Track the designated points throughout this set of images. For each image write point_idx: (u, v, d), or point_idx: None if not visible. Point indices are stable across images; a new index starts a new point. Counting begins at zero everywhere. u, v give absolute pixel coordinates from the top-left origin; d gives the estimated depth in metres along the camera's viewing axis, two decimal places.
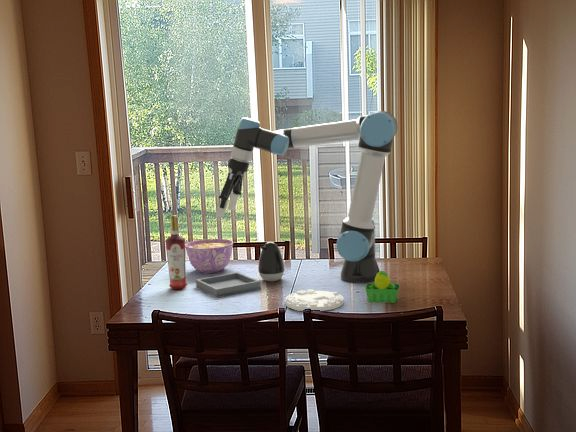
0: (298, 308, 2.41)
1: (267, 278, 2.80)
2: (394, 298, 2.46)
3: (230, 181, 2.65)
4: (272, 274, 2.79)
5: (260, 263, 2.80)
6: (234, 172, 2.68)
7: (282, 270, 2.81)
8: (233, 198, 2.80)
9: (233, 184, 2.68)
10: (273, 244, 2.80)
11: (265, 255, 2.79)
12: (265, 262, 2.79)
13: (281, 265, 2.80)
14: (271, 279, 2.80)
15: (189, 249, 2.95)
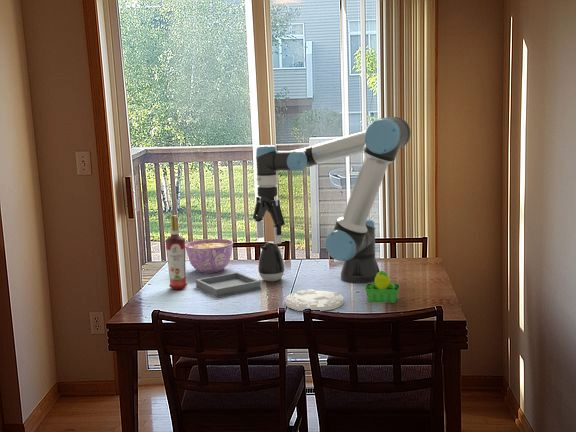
0: (298, 308, 2.41)
1: (267, 278, 2.80)
2: (394, 298, 2.46)
3: (278, 207, 2.73)
4: (272, 274, 2.79)
5: (260, 263, 2.80)
6: (272, 198, 2.76)
7: (282, 270, 2.81)
8: (260, 225, 2.86)
9: None
10: (273, 244, 2.80)
11: (265, 255, 2.79)
12: (265, 262, 2.79)
13: (281, 265, 2.80)
14: (271, 279, 2.80)
15: (189, 249, 2.95)
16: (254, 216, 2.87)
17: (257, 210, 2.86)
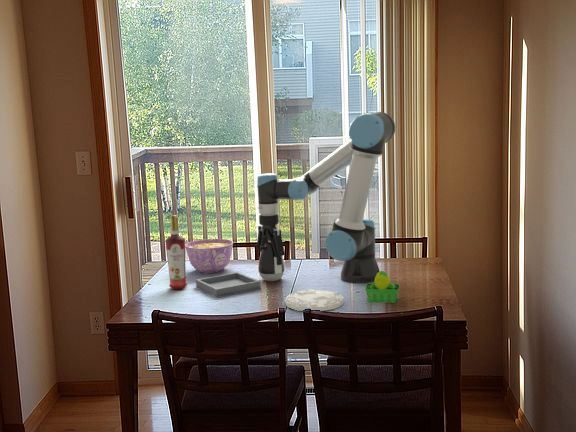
0: (298, 308, 2.41)
1: (267, 278, 2.80)
2: (394, 298, 2.46)
3: (279, 237, 2.76)
4: (272, 274, 2.79)
5: (260, 263, 2.80)
6: (274, 227, 2.77)
7: (282, 270, 2.81)
8: None
9: None
10: None
11: (265, 255, 2.79)
12: (265, 261, 2.79)
13: None
14: (271, 279, 2.80)
15: (189, 249, 2.95)
16: (258, 246, 2.88)
17: (260, 239, 2.87)
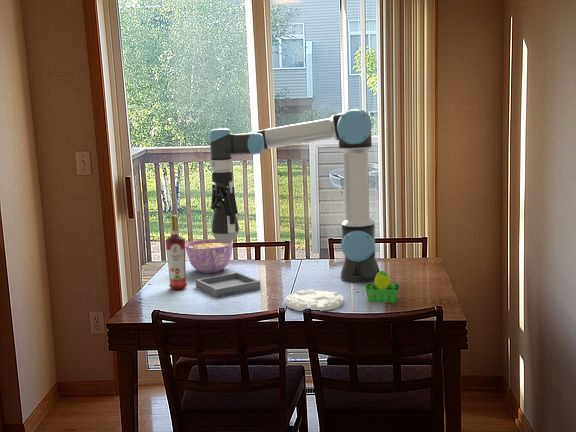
0: (298, 308, 2.41)
1: (220, 238, 2.68)
2: (394, 298, 2.46)
3: (232, 195, 2.63)
4: (225, 234, 2.67)
5: (213, 223, 2.68)
6: (227, 184, 2.65)
7: (236, 230, 2.68)
8: None
9: None
10: None
11: (218, 213, 2.67)
12: (218, 221, 2.66)
13: (235, 225, 2.68)
14: (224, 239, 2.68)
15: (189, 249, 2.95)
16: (212, 206, 2.76)
17: (214, 199, 2.74)
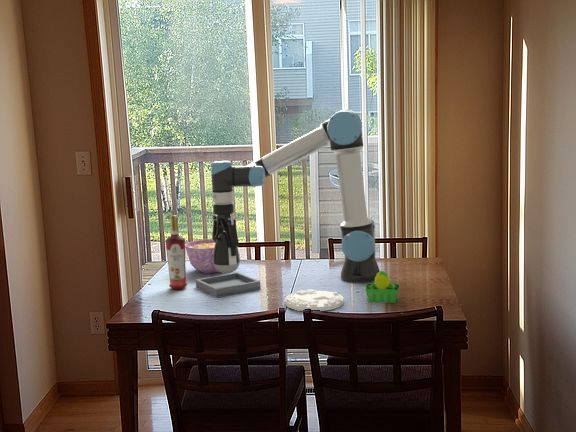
0: (298, 308, 2.41)
1: (221, 269, 2.69)
2: (394, 298, 2.46)
3: (234, 227, 2.65)
4: (226, 265, 2.68)
5: (214, 254, 2.70)
6: (229, 216, 2.67)
7: (237, 261, 2.70)
8: None
9: None
10: None
11: (220, 245, 2.68)
12: (219, 252, 2.68)
13: (236, 256, 2.70)
14: (225, 270, 2.69)
15: (189, 249, 2.95)
16: (213, 237, 2.77)
17: (215, 230, 2.76)
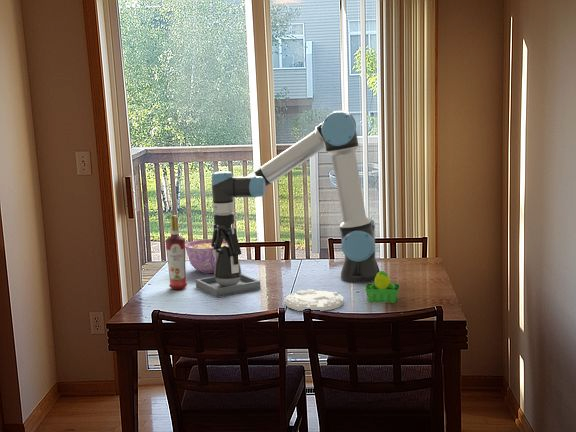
0: (298, 308, 2.41)
1: (223, 283, 2.70)
2: (394, 298, 2.46)
3: (235, 236, 2.65)
4: (227, 279, 2.69)
5: (216, 267, 2.71)
6: (229, 227, 2.67)
7: (238, 275, 2.71)
8: None
9: None
10: None
11: (221, 259, 2.70)
12: (221, 266, 2.69)
13: None
14: (227, 284, 2.70)
15: (189, 249, 2.95)
16: (212, 244, 2.79)
17: (215, 238, 2.77)
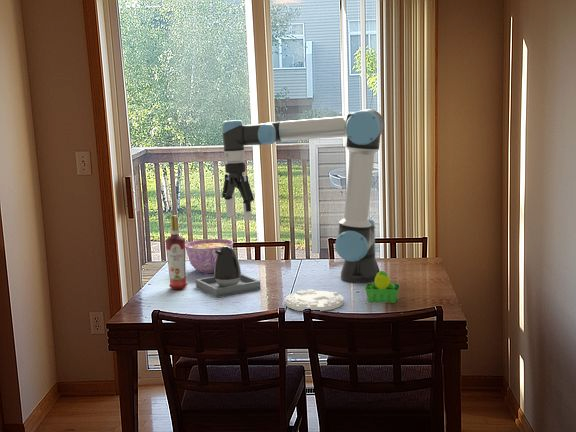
0: (298, 308, 2.41)
1: (222, 284, 2.70)
2: (394, 298, 2.46)
3: (247, 183, 2.67)
4: (227, 280, 2.69)
5: (215, 268, 2.71)
6: (241, 174, 2.70)
7: (238, 275, 2.71)
8: (229, 204, 2.80)
9: None
10: (229, 248, 2.71)
11: (221, 259, 2.69)
12: (221, 267, 2.69)
13: (237, 270, 2.71)
14: (227, 285, 2.70)
15: (189, 249, 2.95)
16: (223, 194, 2.81)
17: (226, 188, 2.79)
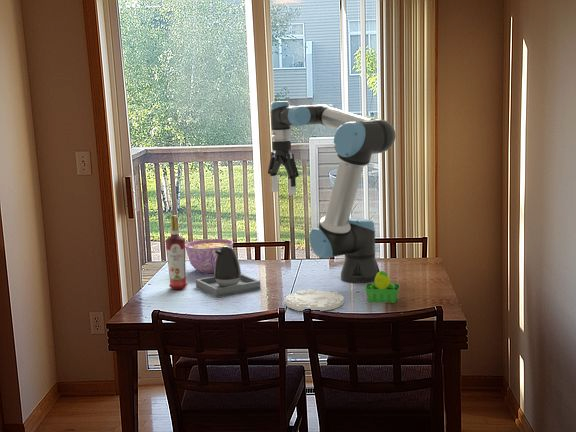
0: (298, 308, 2.41)
1: (222, 284, 2.70)
2: (394, 298, 2.46)
3: (292, 160, 2.86)
4: (227, 280, 2.69)
5: (215, 268, 2.71)
6: (287, 152, 2.88)
7: (238, 275, 2.71)
8: (275, 180, 2.98)
9: None
10: (229, 248, 2.71)
11: (221, 259, 2.69)
12: (221, 267, 2.69)
13: (237, 270, 2.71)
14: (227, 285, 2.70)
15: (189, 249, 2.95)
16: (269, 171, 2.99)
17: (272, 165, 2.98)
